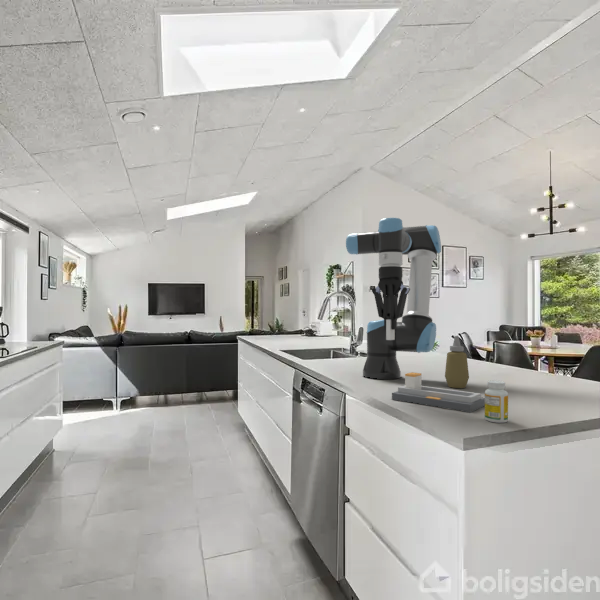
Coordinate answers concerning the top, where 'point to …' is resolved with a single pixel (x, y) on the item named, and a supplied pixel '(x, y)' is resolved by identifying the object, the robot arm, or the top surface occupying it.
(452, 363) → the squeeze bottle
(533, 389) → the top surface
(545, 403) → the top surface
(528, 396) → the top surface
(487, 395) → the supplement bottle
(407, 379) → the fader tab
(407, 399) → the console board
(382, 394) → the top surface
